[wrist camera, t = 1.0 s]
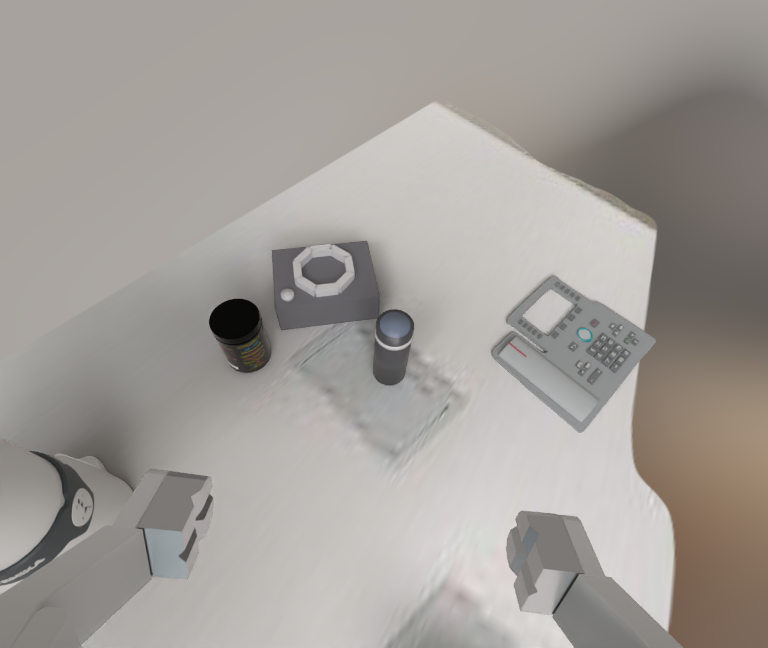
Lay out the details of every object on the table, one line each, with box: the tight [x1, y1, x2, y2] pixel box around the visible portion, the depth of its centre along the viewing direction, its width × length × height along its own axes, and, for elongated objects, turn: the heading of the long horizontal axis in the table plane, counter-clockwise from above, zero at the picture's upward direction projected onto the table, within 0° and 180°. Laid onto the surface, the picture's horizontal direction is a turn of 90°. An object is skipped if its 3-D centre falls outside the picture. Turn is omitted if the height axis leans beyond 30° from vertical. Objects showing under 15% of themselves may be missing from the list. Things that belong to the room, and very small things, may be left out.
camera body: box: [272, 241, 379, 330], centre depth 72 cm, size 16×12×8 cm
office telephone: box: [492, 276, 656, 433], centre depth 72 cm, size 23×3×20 cm
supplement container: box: [209, 299, 271, 373], centre depth 64 cm, size 7×7×10 cm
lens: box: [373, 310, 414, 385], centre depth 63 cm, size 5×5×13 cm
